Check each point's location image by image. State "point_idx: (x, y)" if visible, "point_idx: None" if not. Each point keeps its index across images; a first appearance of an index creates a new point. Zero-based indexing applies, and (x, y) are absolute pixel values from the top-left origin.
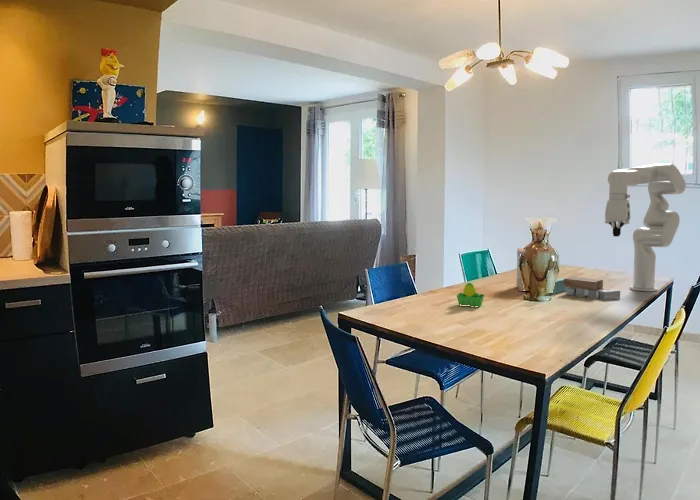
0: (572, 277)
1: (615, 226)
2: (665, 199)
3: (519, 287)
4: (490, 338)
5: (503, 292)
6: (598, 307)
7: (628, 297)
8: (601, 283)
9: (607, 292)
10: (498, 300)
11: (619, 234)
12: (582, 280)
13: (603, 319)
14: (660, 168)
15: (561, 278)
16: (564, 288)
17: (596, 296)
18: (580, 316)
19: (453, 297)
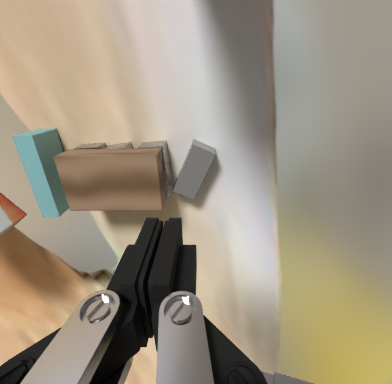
0: (69, 177)
1: (134, 349)
2: None
3: (5, 232)
4: None
5: (4, 250)
6: (217, 258)
7: (225, 114)
8: (159, 162)
9: (197, 191)
10: (65, 305)
11: (196, 260)
12: (123, 207)
13: (256, 317)
14: None
15: (19, 148)
16: (57, 151)
17: (172, 188)
18: (222, 319)
19: (7, 324)
